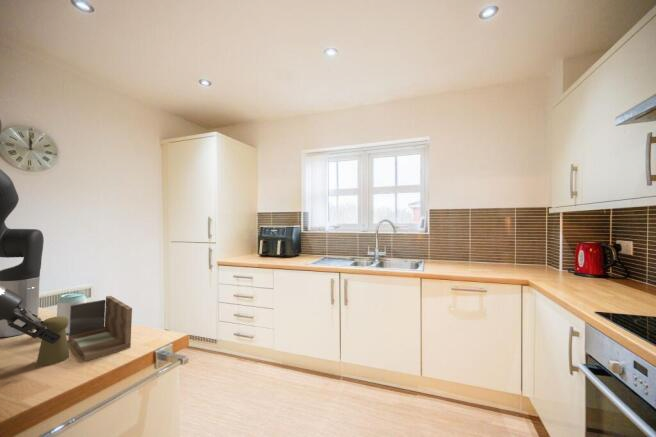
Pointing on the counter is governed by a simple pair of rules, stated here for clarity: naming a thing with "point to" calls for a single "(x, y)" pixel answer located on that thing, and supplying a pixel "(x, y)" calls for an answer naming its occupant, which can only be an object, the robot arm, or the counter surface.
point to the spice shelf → (100, 327)
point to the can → (69, 305)
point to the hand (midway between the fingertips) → (53, 335)
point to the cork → (59, 349)
